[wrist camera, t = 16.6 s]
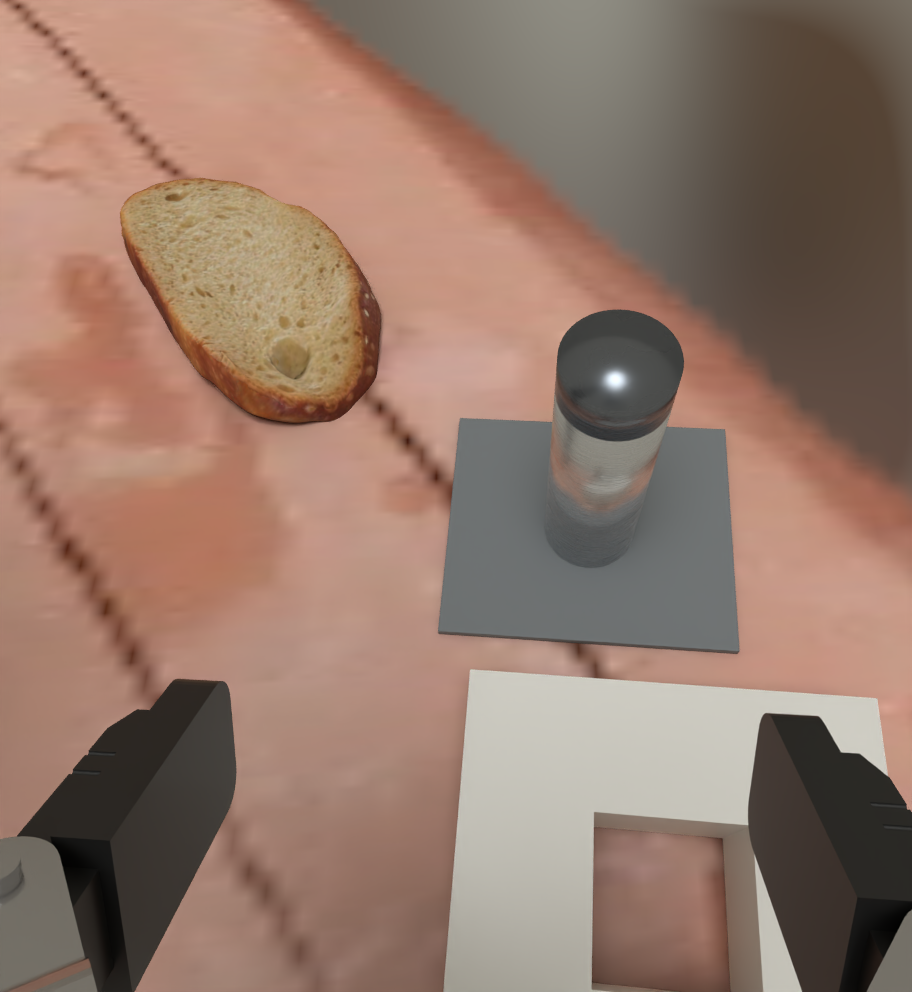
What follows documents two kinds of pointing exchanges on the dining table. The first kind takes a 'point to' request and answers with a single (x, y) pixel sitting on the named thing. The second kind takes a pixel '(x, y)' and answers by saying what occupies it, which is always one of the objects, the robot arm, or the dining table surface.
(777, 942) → the socket housing
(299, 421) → the slice of bread
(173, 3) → the dining table surface
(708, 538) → the rubber mat
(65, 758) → the dining table surface
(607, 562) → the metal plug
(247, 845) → the dining table surface
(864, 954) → the robot arm
